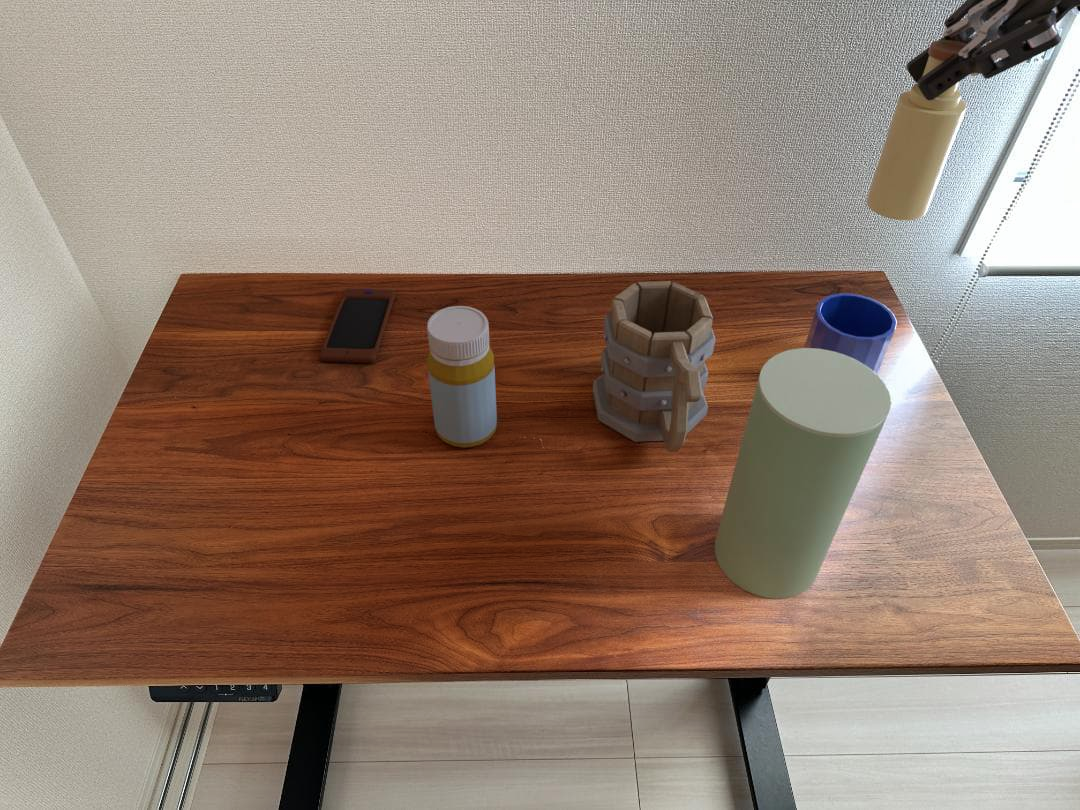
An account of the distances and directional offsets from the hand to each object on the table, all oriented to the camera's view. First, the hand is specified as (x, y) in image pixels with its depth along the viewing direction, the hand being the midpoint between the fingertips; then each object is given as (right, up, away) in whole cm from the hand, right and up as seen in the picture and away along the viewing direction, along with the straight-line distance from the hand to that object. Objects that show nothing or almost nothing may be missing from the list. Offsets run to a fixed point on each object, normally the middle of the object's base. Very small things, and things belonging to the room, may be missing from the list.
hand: (917, 83), depth 72 cm
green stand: (-13, -45, +3) cm, 47 cm away
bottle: (-44, -33, +16) cm, 57 cm away
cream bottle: (+2, -9, +8) cm, 13 cm away
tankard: (-22, -33, +16) cm, 43 cm away
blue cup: (+2, -26, +24) cm, 35 cm away
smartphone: (-59, -20, +29) cm, 69 cm away
